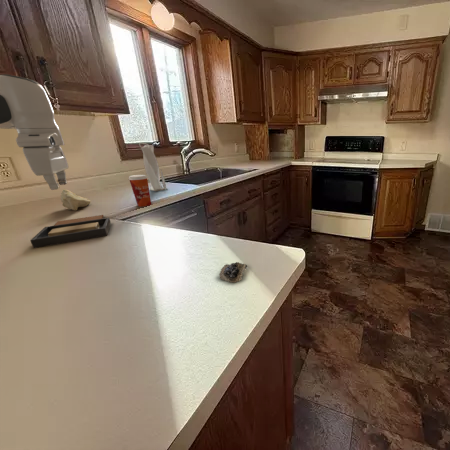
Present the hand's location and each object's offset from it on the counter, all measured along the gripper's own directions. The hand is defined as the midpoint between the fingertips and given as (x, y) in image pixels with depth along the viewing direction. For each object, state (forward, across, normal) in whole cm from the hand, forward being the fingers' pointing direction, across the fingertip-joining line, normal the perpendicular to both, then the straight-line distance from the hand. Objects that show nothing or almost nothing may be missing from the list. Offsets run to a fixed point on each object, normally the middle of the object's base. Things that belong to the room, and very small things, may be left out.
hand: (59, 186), depth 76 cm
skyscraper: (+17, -71, +27) cm, 77 cm away
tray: (+16, -1, 0) cm, 16 cm away
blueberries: (+17, +53, +37) cm, 67 cm away
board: (+16, -1, 0) cm, 16 cm away
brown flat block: (+16, -17, -2) cm, 24 cm away
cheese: (+16, -43, -6) cm, 46 cm away
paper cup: (+17, -33, +20) cm, 42 cm away
